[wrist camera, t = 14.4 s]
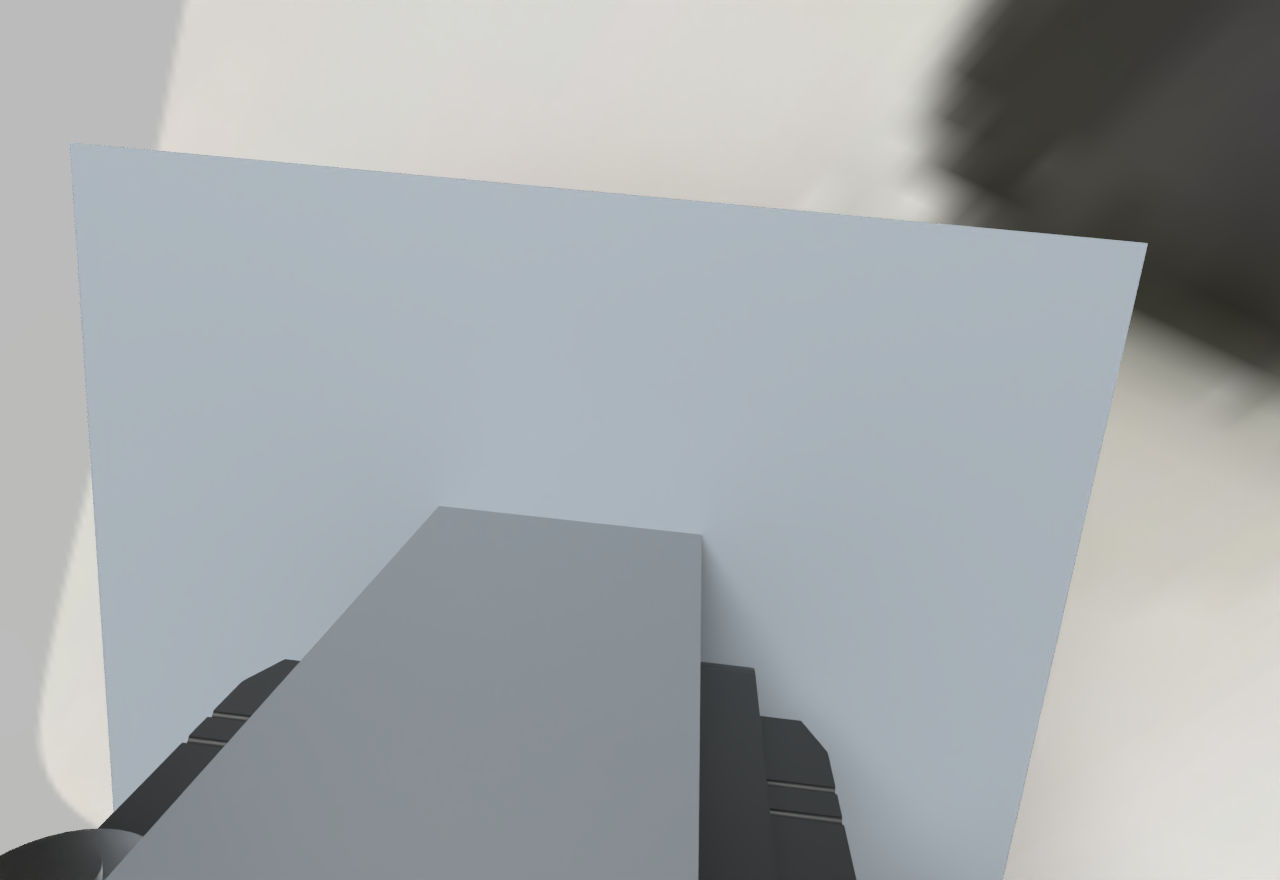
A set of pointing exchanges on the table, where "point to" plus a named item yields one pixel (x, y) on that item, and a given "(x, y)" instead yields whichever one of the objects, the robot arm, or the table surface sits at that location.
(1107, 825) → the table surface
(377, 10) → the table surface
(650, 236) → the square plate with knob
